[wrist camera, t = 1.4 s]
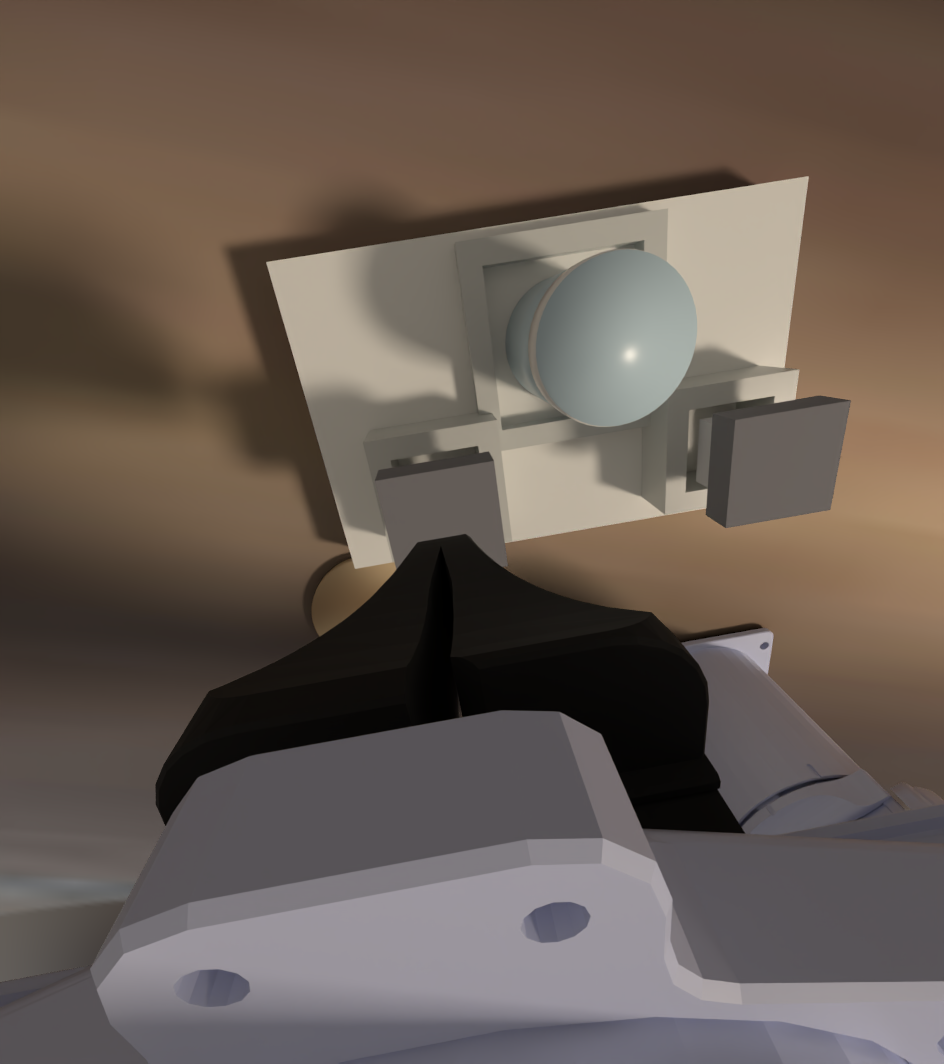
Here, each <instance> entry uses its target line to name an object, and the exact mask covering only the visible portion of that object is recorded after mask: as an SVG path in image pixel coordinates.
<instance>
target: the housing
mask: <svg viewBox="0 0 944 1064" xmlns="http://www.w3.org/2000/svg"><path fill="white" fill-rule="evenodd" d="M808 178H809V176H808V177H802V178H795V179H789V180H783V181H776V182H770V183H764V184H757V185H751V186H745V187H738V188H732V189H726V190H719V191H713V192H707V193H700V194H694V195H688V196H681V197H675V198H669V199H662V200H656V201H650V202H643V203H637V204H631V205H624V206H618V207H612V208H605V209H599V210H593V211H586V212H580V213H574V214H567V215H561V216H555V217H548V218H542V219H536V220H529V221H523V222H517V223H510V224H504V225H498V226H491V227H485V228H479V229H472V230H466V231H460V232H454V233H447V234H441V235H435V236H428V237H422V238H416V239H409V240H403V241H397V242H390V243H384V244H378V245H371V246H365V247H359V248H352V249H346V250H340V251H333V252H327V253H321V254H314V255H308V256H302V257H295V258H289V259H283V260H276V261H270V262H266V263H267V267H268V270H269V274H270V277H271V281H272V284H273V288H274V291H275V295H276V298H277V301H278V305H279V308H280V312H281V315H282V319H283V322H284V326H285V329H286V333H287V336H288V340H289V343H290V346H291V350H292V353H293V357H294V360H295V364H296V367H297V371H298V374H299V378H300V381H301V384H302V388H303V391H304V395H305V398H306V402H307V405H308V409H309V412H310V416H311V419H312V422H313V426H314V429H315V433H316V436H317V440H318V443H319V447H320V450H321V454H322V457H323V460H324V464H325V467H326V471H327V474H328V478H329V481H330V485H331V488H332V492H333V495H334V498H335V502H336V505H337V509H338V512H339V516H340V519H341V523H342V526H343V530H344V533H345V536H346V540H347V543H348V547H349V550H350V554H351V557H352V561H353V564H354V568H355V569H357V568H363V567H369V566H375V565H380V564H386V563H392V562H394V558H393V554H392V550H391V546H390V542H389V538H388V534H387V530H386V526H385V522H384V517H383V513H382V509H381V505H380V501H379V497H378V493H377V489H376V485H375V478H376V476H377V473H378V470H381V469H387V468H393V467H399V466H405V465H411V464H417V463H423V462H429V461H435V460H440V459H446V458H452V457H458V456H464V455H470V454H476V453H482V452H488V451H489V452H490V454H491V456H492V458H493V460H494V465H495V472H496V480H497V488H498V495H499V503H500V511H501V518H502V526H503V533H504V541H505V543H508V542H513V541H519V540H525V539H531V538H536V537H542V536H548V535H554V534H560V533H565V532H571V531H577V530H583V529H589V528H594V527H600V526H606V525H612V524H617V523H623V522H629V521H635V520H641V519H646V518H652V517H658V516H664V515H669V514H675V513H681V512H687V511H693V510H698V509H704V508H706V504H707V489H708V488H707V487H705V486H704V485H702V484H700V483H698V482H696V472H697V455H698V437H699V420H700V419H705V418H711V417H712V416H713V413H719V412H725V411H731V410H737V409H743V408H749V407H755V406H761V405H767V404H773V403H779V402H785V401H791V400H795V397H796V390H797V383H798V375H799V369H790V368H784V367H785V359H786V351H787V343H788V335H789V327H790V319H791V311H792V304H793V296H794V288H795V280H796V272H797V264H798V256H799V248H800V241H801V233H802V225H803V217H804V209H805V201H806V193H807V185H808ZM623 248H627V249H637V250H641V251H645V252H648V253H651V254H653V255H656V256H658V257H660V258H662V259H663V260H665V261H666V262H668V263H669V264H670V265H671V266H672V267H674V268H675V269H676V270H677V271H678V273H679V274H680V275H681V276H682V278H683V279H684V281H685V282H686V284H687V286H688V287H689V290H690V292H691V295H692V297H693V300H694V304H695V308H696V315H697V338H696V345H695V349H694V354H693V357H692V360H691V362H690V365H689V367H688V370H687V372H686V374H685V376H684V377H683V379H682V381H681V382H680V384H679V386H678V387H677V388H676V390H675V391H674V392H673V393H672V395H671V396H670V397H669V398H668V399H667V400H666V401H665V402H664V403H663V404H662V405H660V406H659V407H658V408H657V409H656V410H654V411H653V412H651V413H650V414H648V415H646V416H644V417H642V418H641V419H639V420H636V421H633V422H631V423H628V424H623V425H619V426H611V427H596V426H590V425H586V424H583V423H580V422H577V421H575V420H573V419H571V418H569V417H568V416H566V415H564V414H563V413H561V412H560V411H558V410H557V409H555V408H554V407H553V406H552V405H551V404H549V403H547V402H545V401H544V400H542V399H540V398H539V397H537V396H535V395H533V394H532V393H530V392H529V391H527V390H526V389H525V388H524V387H523V386H522V385H521V384H520V383H519V382H518V380H517V379H516V378H515V376H514V374H513V373H512V371H511V368H510V366H509V363H508V360H507V355H506V345H505V340H506V331H507V326H508V323H509V319H510V317H511V314H512V312H513V310H514V308H515V307H516V305H517V303H518V302H519V301H520V299H521V298H522V297H523V295H524V294H525V293H527V292H528V291H529V290H530V289H531V288H532V287H534V286H535V285H536V284H538V283H540V282H541V281H543V280H545V279H548V278H550V277H552V276H554V275H556V274H559V273H561V272H563V271H565V270H567V269H569V268H570V267H571V266H573V265H575V264H577V263H578V262H580V261H582V260H584V259H586V258H589V257H591V256H593V255H596V254H598V253H601V252H604V251H608V250H612V249H623Z"/></svg>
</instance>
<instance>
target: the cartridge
mask: <svg viewBox="0 0 944 1064" xmlns="http://www.w3.org/2000/svg"><path fill="white" fill-rule="evenodd" d="M696 338H697V315H696V308H695V304H694V300H693V297H692V295H691V292H690V290H689V287H688V286H687V284H686V282H685V281H684V279H683V278H682V276H681V275H680V274H679V273H678V271H677V270H676V269H675V268H674V267H672V266H671V265H670V264H669V263H668V262H666V261H665V260H663V259H662V258H660V257H658V256H656V255H653V254H651V253H648V252H645V251H641V250H637V249H627V248H623V249H612V250H608V251H604V252H601V253H598V254H596V255H593V256H591V257H589V258H586V259H584V260H582V261H580V262H578V263H577V264H575V265H573V266H571V267H570V268H569V269H567V270H565V271H563V272H561V273H559V274H556V275H554V276H552V277H550V278H548V279H545V280H543V281H541V282H540V283H538V284H536V285H535V286H534V287H532V288H531V289H530V290H529V291H528V292H527V293H525V294H524V295H523V297H522V298H521V299H520V301H519V302H518V303H517V305H516V307H515V308H514V310H513V312H512V314H511V317H510V319H509V323H508V326H507V331H506V340H505V345H506V355H507V360H508V363H509V366H510V368H511V371H512V373H513V374H514V376H515V378H516V379H517V380H518V382H519V383H520V384H521V385H522V386H523V387H524V388H525V389H526V390H527V391H529V392H530V393H532V394H533V395H535V396H537V397H539V398H540V399H542V400H544V401H545V402H547V403H549V404H551V405H552V406H553V407H554V408H555V409H557V410H558V411H560V412H561V413H563V414H564V415H566V416H568V417H569V418H571V419H573V420H575V421H577V422H580V423H583V424H586V425H590V426H596V427H611V426H619V425H623V424H628V423H631V422H633V421H636V420H639V419H641V418H642V417H644V416H646V415H648V414H650V413H651V412H653V411H654V410H656V409H657V408H658V407H659V406H660V405H662V404H663V403H664V402H665V401H666V400H667V399H668V398H669V397H670V396H671V395H672V393H673V392H674V391H675V390H676V388H677V387H678V386H679V384H680V382H681V381H682V379H683V377H684V376H685V374H686V372H687V370H688V367H689V365H690V362H691V360H692V357H693V354H694V349H695V345H696Z"/></svg>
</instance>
